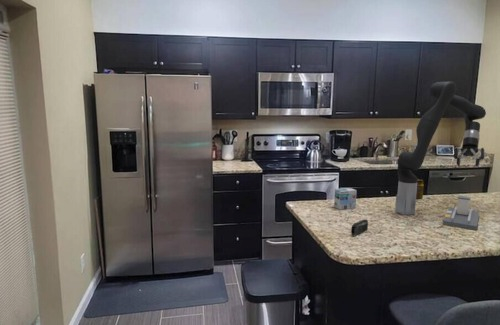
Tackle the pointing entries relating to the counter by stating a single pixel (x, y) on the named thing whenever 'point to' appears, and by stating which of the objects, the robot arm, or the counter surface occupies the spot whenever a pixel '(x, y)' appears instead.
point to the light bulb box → (345, 198)
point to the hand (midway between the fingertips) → (467, 165)
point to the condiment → (419, 190)
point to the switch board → (461, 219)
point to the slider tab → (463, 205)
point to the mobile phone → (359, 227)
